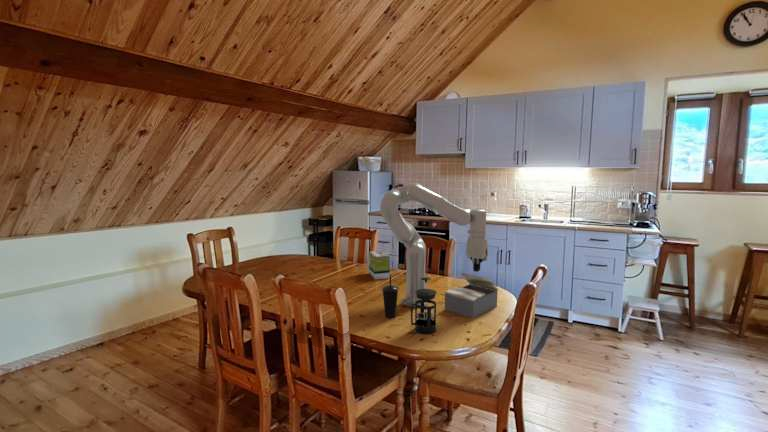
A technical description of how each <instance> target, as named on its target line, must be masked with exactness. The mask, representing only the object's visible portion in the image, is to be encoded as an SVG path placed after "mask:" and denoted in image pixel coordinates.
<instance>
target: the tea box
mask: <svg viewBox="0 0 768 432" xmlns="http://www.w3.org/2000/svg"><path fill="white" fill-rule="evenodd" d="M390 258H391V257H390V254H388V253H386V252H385V251H384V250H374V251H368V274H369V275H370V276H371V277H372V278H373V279H374V280H387V279H390V275H391V269H390V268H391V267H390V265H391V264H390V263H391V262H390V260H391V259H390Z"/></svg>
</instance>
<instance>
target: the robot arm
mask: <svg viewBox="0 0 768 432" xmlns="http://www.w3.org/2000/svg"><path fill="white" fill-rule="evenodd" d="M409 202H413V203H416V204H417V205H420V206H423V207H424V208H426V209H428V210H430V211H431V212H433V213H435V214H437V215H439V216H441V217H442V218H445V219H446V220H448V221H450V222H452V223H454V224H456V225H458V226H462V227H464V226H467V225H469V230H468V231H467V234H468V235H469V236H467V240H466V248H465V256H466V257H467V258H468V259H469V260H471V262H472V265H473V266H472V268H473V269H472V270H473V272H476V273H477V272H480V271H481V263H482V262H487V261H488V256H489V245H488V244H489V243H488V239H487V237H486V233H487V232H486V231H487V230H486V229H487V211H486V210H485V209H483V208H473V209H471V208H463V207H459V206H457V205H456V204H453V203H451V202H450V201H449V200H447V199H446V198H445V197H444V196H443V195H440V194H438V193H436V192H434V191H432V190H430V189H428V188H426V187H424V186H423V185H422V184H420V183H419V182H413V183H411V184H407V185H404V186H400V187H397V188H392V189H390V190H389V191H387V192H386V193H385V194H384V195H383V197H382V199H381V201H380V207H379V209H380V214H381V216H382V218H383V220H384V221H385V223H386V224H387V226H388V227H389V229H390V231H391V232H392V234H393V235H394V237H395V239H396V240H397V241H398V242H400V243H401V244H403V246H404V247H405V248H406V251H405V259H406V261H405V262H406V263H405V266H406V268H405V269H406V270H405V271H406V277H405V280H406V281H405V282H406V284H405V289H406V291H405V295H404V298H402V299H400V300H399V302H400V303H401V304H404V305H405V306H406V307H410V308H411V304H415V302H416V301H418V300H422V299H418V298H417V297H416V293H415V291H416V290H418V289H426V283H425V280H422V279H421V278H423V277H426V255H427V254H426V253H427V246H426V243H425V242H424V240H423V238H422V237H421V235H420V234H419V232H418V231H417V230H416V228H415V227H414V225H413V224H412V223H410V222H407V221H406V220H405V218H404V216H403V215H402V213H401V212H400V211H399V210H398V209H399V208H398V207H399V205H401V204H405V203H409ZM428 304H429V303H426V306H428ZM417 305H419V306H420V303H418V304H417ZM424 306H425V302H424ZM413 308H415V306H413Z"/></svg>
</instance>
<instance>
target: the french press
mask: <svg viewBox="0 0 768 432" xmlns="http://www.w3.org/2000/svg"><path fill="white" fill-rule="evenodd" d="M421 279H422V280H425V284H427V283H428V281H431V279H432V278H431V277H427V276H425V277H423V278H421ZM415 293H416V297H417V298H418V299H422V300H418V301H416V302H415V304H411V307H410V324H411V326H414V331H415V332H416V333H418V334H419V335H420V334H421V335H432V334H435V333H436V332H437V302H436V301H434V299H435V297H436V295H437V291H436V290H435V289H431V288H425V289H418V290H416V291H415ZM424 302H425V306H424ZM418 303H420V306H419V305H417V304H418ZM426 303H428V304H433V305H430V306H428V305H426ZM413 306H415V307H413ZM413 308H414V309H413ZM418 309H420V311H419V312H418ZM413 310H414V312H413ZM432 310H433V313H432ZM413 313H414V322H413Z"/></svg>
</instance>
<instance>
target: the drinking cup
mask: <svg viewBox="0 0 768 432" xmlns="http://www.w3.org/2000/svg"><path fill="white" fill-rule="evenodd" d="M381 289H382V296H383V298H382V299H383V307H384V317H385V318H386V319H395V318H396V317H397V316H396V314H397V304H398V303H397V302H398V292H399V289H400V288H399V287H398V286H396V285H393V284H392V274H390V278H389V284H388V285H385V286H382V287H381Z"/></svg>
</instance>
